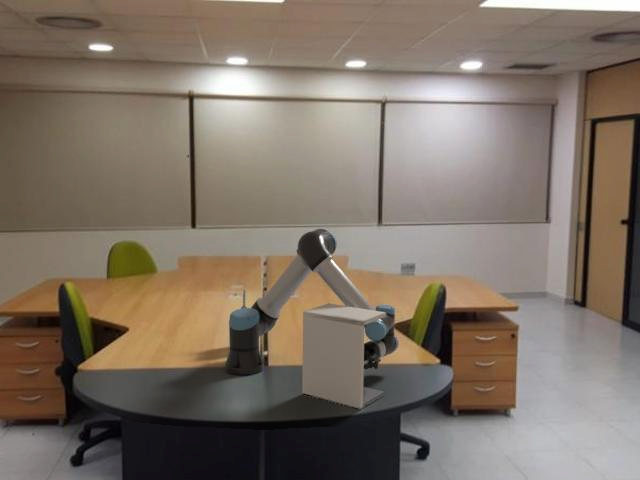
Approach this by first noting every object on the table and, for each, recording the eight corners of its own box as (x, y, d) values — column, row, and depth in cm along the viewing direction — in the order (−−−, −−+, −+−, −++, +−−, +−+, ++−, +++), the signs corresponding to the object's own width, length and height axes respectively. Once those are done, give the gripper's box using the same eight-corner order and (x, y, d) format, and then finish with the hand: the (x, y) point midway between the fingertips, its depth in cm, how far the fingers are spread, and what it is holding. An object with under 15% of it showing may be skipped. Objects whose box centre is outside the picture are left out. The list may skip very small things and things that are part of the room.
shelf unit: (360, 410, 203) (362, 321, 200) (302, 394, 217) (302, 311, 213) (384, 395, 216) (386, 312, 213) (327, 382, 230) (328, 303, 227)
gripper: (401, 367, 224) (371, 383, 207) (343, 354, 239) (311, 368, 221) (401, 347, 224) (372, 361, 206) (344, 336, 238) (312, 348, 220)
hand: (340, 365), depth 214 cm, fingers open, 13 cm apart
